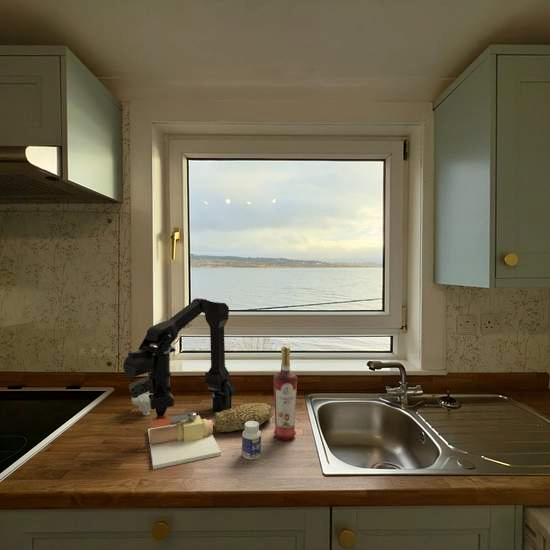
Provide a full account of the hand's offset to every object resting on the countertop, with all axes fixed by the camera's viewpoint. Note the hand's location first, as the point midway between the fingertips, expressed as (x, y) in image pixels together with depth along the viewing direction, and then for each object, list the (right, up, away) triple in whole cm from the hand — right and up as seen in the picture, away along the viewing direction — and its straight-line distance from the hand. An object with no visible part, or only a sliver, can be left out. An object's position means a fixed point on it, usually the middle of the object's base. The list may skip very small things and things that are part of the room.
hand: (159, 420), depth 107 cm
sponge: (+25, -7, +11) cm, 28 cm away
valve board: (+7, -7, -1) cm, 10 cm away
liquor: (+38, -7, +4) cm, 38 cm away
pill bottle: (+28, -7, -7) cm, 30 cm away
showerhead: (-11, -6, +19) cm, 23 cm away
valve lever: (+5, 0, -1) cm, 5 cm away
